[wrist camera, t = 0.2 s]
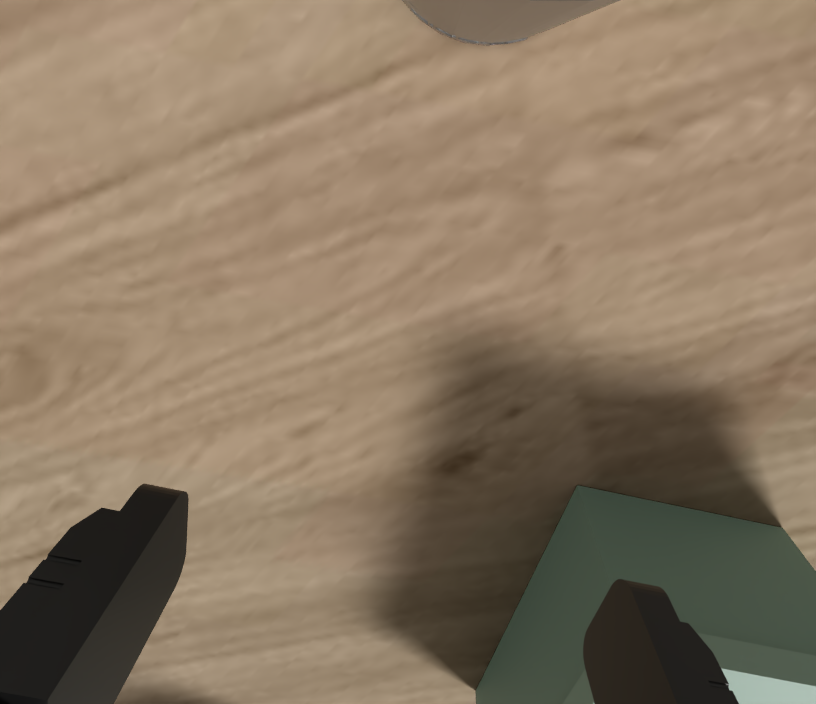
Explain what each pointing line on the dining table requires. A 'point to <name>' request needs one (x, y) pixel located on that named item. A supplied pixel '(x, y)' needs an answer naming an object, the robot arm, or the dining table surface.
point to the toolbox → (654, 565)
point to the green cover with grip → (747, 674)
